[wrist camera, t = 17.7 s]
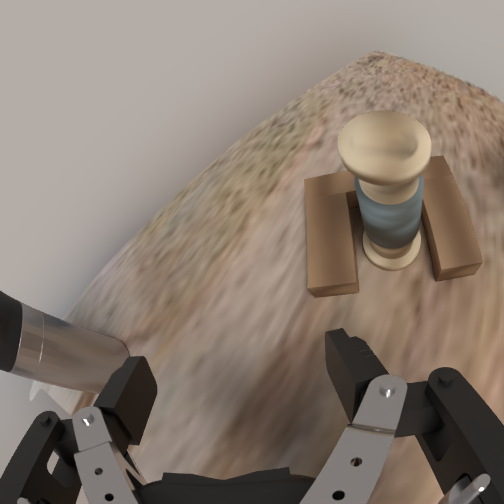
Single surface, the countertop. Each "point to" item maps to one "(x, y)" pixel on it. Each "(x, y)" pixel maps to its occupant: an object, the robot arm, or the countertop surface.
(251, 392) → the countertop surface
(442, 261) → the notched board
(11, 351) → the robot arm
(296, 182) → the countertop surface
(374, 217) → the cord spool
